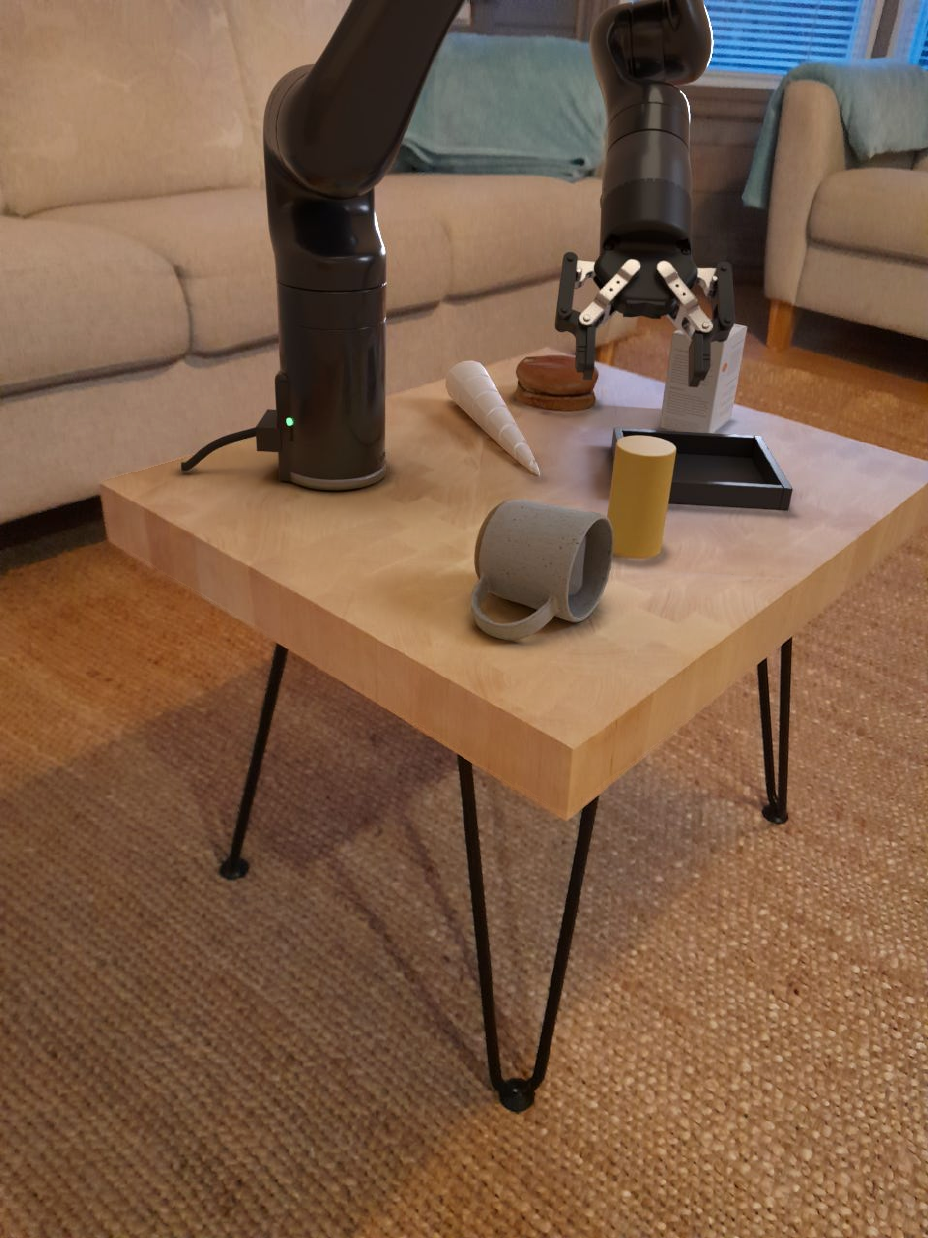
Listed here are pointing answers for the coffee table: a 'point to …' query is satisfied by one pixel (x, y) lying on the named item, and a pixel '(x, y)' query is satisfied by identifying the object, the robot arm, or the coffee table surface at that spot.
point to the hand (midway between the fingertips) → (642, 378)
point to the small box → (702, 385)
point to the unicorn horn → (488, 409)
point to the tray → (721, 470)
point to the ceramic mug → (541, 563)
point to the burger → (554, 383)
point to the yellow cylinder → (640, 495)
